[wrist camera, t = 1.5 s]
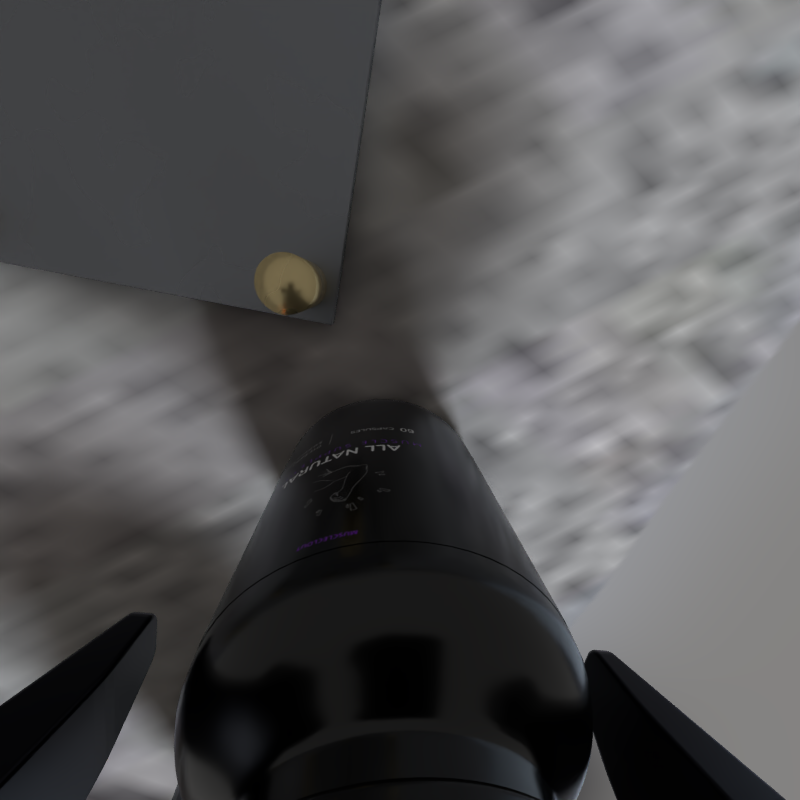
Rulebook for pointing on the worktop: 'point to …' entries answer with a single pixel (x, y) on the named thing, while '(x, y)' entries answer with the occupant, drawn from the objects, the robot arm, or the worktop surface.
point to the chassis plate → (185, 144)
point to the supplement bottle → (384, 636)
